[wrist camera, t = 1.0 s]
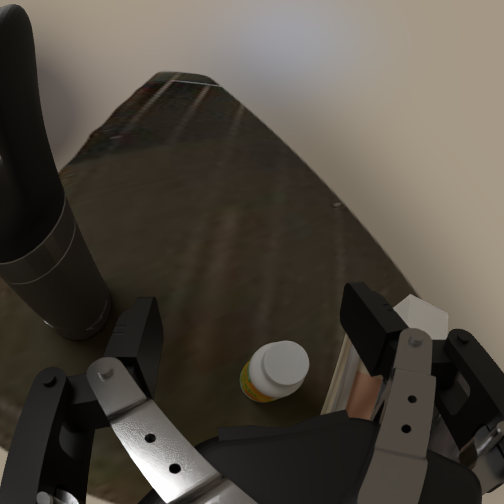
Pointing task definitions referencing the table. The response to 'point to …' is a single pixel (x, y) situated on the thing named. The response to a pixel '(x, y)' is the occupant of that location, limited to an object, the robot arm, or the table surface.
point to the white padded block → (423, 317)
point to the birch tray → (352, 385)
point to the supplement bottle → (274, 371)
